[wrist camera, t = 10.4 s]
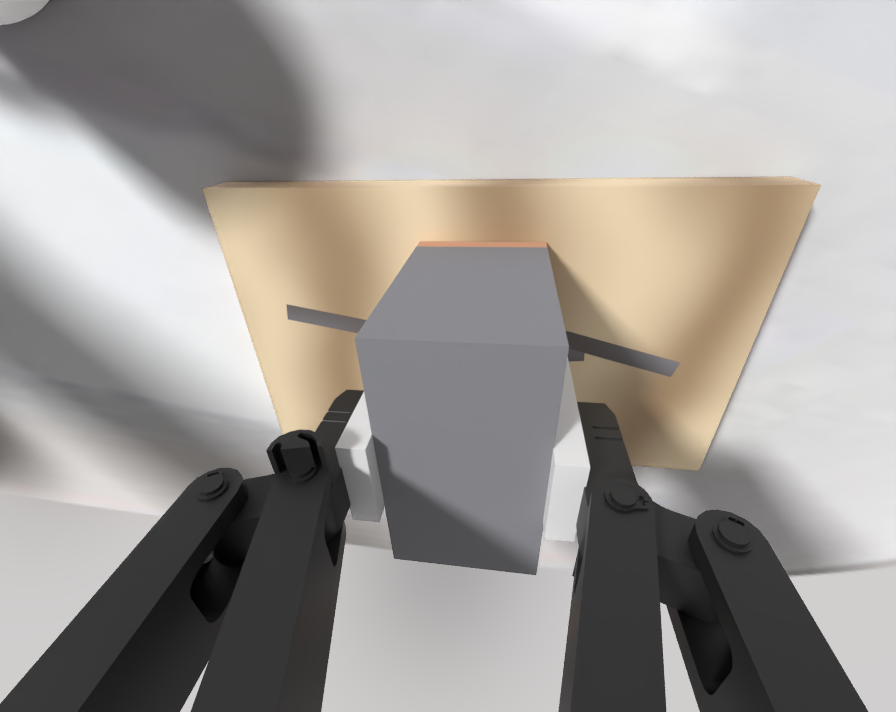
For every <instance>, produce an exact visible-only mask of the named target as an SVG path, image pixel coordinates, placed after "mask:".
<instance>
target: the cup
mask: <svg viewBox="0 0 896 712" xmlns="http://www.w3.org/2000/svg"><path fill="white" fill-rule="evenodd" d="M48 2H49V0H0V25H6V24H12V23H16V22H19V21H22V20H24V19H26V18H29V17H31V16H33V15H34V14H36V13H37V12H39V11H40V10H41V9H42V8H43V7H44V6H45V5H46V4H47V3H48Z"/></svg>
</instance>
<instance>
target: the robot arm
mask: <svg viewBox="0 0 896 712" xmlns="http://www.w3.org/2000/svg"><path fill="white" fill-rule="evenodd" d="M266 451H267V454H268V457H269V459H270V462H271V464H272V467H273V470H274V472H275V474H272V475H268V476H262V477H257V478H251V479H246V480H243V477H242V475H241V474H240V473H239V472H238V471H237V470H235V469H232V468H219V469H216V470H212V471H209V472H207V473H205V474H203V475H202V476H200V477H198V478H197V479H196V480H195V481H193V482H192V483H191V484H190V485H189V486H188V487H187V488H186V489H185V491H184V492H183V493H182V494H181V495H180V496H179V498H178V499H177V500H176V501H175V502H174V503H173V504H172V506H171V507H170V508H169V509H168V510H167V511H166V513H165V514H164V515H163V516H162V517H161V518H160V520H159V521H158V522H157V523H156V524H155V525H154V526H153V528H152V529H151V530H150V531H149V532H148V533H147V535H146V536H145V537H144V538H143V539H142V540H141V542H140V543H139V544H138V545H137V546H136V547H135V548H134V550H133V551H132V552H131V553H130V554H129V556H128V557H127V558H126V559H125V560H124V561H123V562H122V564H121V565H120V566H119V567H118V568H117V569H116V571H115V572H114V573H113V574H112V575H111V576H110V577H109V579H108V580H107V581H106V582H105V583H104V584H103V585H102V587H101V588H100V589H99V590H98V591H97V592H96V594H95V595H94V596H93V597H92V598H91V599H90V601H89V602H88V603H87V604H86V605H85V606H84V608H83V609H82V610H81V611H80V612H79V613H78V615H77V616H76V617H75V618H74V619H73V620H72V621H71V623H70V624H69V625H68V626H67V627H66V628H65V629H64V631H63V632H62V633H61V634H60V635H59V636H58V638H57V639H56V640H55V641H54V642H53V643H52V645H51V646H50V647H49V648H48V649H47V650H46V651H45V653H44V654H43V655H42V656H41V657H40V658H39V660H38V661H37V662H36V663H35V664H34V665H33V667H32V668H31V669H30V670H29V671H28V672H27V673H26V675H25V676H24V677H23V678H22V679H21V680H20V682H19V683H18V684H17V685H16V686H15V688H14V689H13V690H12V691H11V692H10V693H9V694H8V695H7V697H6V698H5V699H4V700H3V701H2V702H1V704H0V712H180V710H181V709H182V707H183V705H184V704H185V702H186V700H187V698H188V696H189V695H190V693H191V691H192V689H193V687H194V686H195V684H196V682H197V680H198V678H199V677H200V675H201V673H202V671H203V670H204V668H205V666H206V664H207V662H208V661H209V662H208V665H207V667H206V670H205V673H204V676H203V679H202V681H201V684H200V687H199V690H198V693H197V696H196V698H195V701H194V704H193V707H192V710H191V712H321V708H322V701H323V693H324V687H325V679H326V672H327V664H328V658H329V651H330V644H331V637H332V630H333V623H334V616H335V609H336V602H337V595H338V588H339V581H340V574H341V567H342V559H343V552H344V545H345V538H346V527H345V523H344V520H345V517H346V515H347V512H348V510H349V507H350V510H351V514H352V518H353V519H355V520H364V521H374V522H380V519H381V515H382V512H383V509H384V506H385V505H384V499H383V493H382V488H381V482H380V477H379V471H378V466H377V460H376V454H375V449H374V443H373V438H372V433H371V427H370V422H369V416H368V410H367V405H366V399H365V394H364V390H345V391H344V392H343V393H342V394H340V395H339V396H338V397H337V398H335V399H334V401H333V403H332V404H331V406H330V408H329V409H328V412H327V413H326V414H325V416H324V418H323V421H322V422H321V423H320V424H319V426H318V428H317V429H316V431H315V432H314V431H311V430H301V429H300V430H295V431H290V432H288V433H286V434H284V435H281V436H279V437H278V438H277V439H276V440H274V441H273V442H272V443H271V444H270V446H269V447H268V449H267V450H266ZM543 530H544V539H549V540H559V541H569V542H574V541H575V536H576V532H577V536H578V543H579V549H578V554H577V558H576V562H575V567H574V571H573V576H574V583H573V592H572V600H571V609H570V618H569V626H568V635H567V643H566V652H565V661H564V669H563V678H562V687H561V695H560V704H559V712H666V698H665V681H664V664H663V648H662V630H661V614H660V602H661V603H663V604H666V606H667V609H668V612H669V615H670V618H671V621H672V625H673V628H674V631H675V634H676V638H677V641H678V644H679V647H680V650H681V653H682V657H683V660H684V662H685V666H686V669H687V672H688V676H689V679H690V682H691V685H692V688H693V691H694V695H695V698H696V701H697V704H698V707H699V710H700V712H868V711H867V709H866V707H865V705H864V704H863V702H862V700H861V699H860V697H859V695H858V693H857V692H856V690H855V688H854V687H853V685H852V684H851V682H850V680H849V678H848V677H847V675H846V673H845V672H844V670H843V668H842V666H841V665H840V663H839V661H838V660H837V658H836V656H835V655H834V653H833V651H832V650H831V648H830V646H829V645H828V643H827V641H826V639H825V638H824V636H823V634H822V633H821V631H820V629H819V627H818V626H817V624H816V622H815V621H814V619H813V617H812V616H811V614H810V612H809V611H808V609H807V607H806V605H805V604H804V602H803V600H802V599H801V597H800V595H799V594H798V592H797V590H796V589H795V587H794V585H793V583H792V582H791V580H790V578H789V577H788V575H787V573H786V572H785V570H784V568H783V567H782V565H781V563H780V561H779V560H778V558H777V556H776V555H775V553H774V551H773V550H772V548H771V546H770V544H769V543H768V541H767V540H766V538H765V537H764V536H763V535H762V533H761V532H760V531H759V530H758V529H757V528H756V527H755V526H753V525H752V524H751V523H749V522H748V521H747V520H745V519H743V518H741V517H739V516H737V515H735V514H733V513H730V512H725V511H721V510H710V511H705V512H703V513H702V514H700V515H699V516H698V517H697V519H694V518H691V517H688V516H685V515H682V514H679V513H676V512H673V511H671V510H668V509H666V508H664V507H661V506H660V505H658V504H656V503H655V502H653V501H652V499H651V497H650V496H649V495H648V493H647V492H646V491H645V490H644V489H643V488H642V487H640V486H639V485H638V483H637V481H636V478H635V475H634V472H633V469H632V466H631V462H630V459H629V456H628V453H627V450H626V447H625V444H624V441H623V437H622V434H621V431H620V430H619V425H618V422H617V418H616V415H615V414H614V413H613V412H612V411H611V410H610V409H609V408H608V406H607V405H606V404H605V403H591V402H577V400H576V395H575V390H574V385H573V380H572V376H571V371H570V366H569V361H568V357H567V364H566V371H565V378H564V385H563V392H562V399H561V406H560V413H559V420H558V427H557V434H556V440H555V447H554V448H553V454H552V461H551V468H550V475H549V482H548V489H547V496H546V503H545V510H544V517H543Z"/></svg>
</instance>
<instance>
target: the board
mask: <svg viewBox="0 0 896 712" xmlns="http://www.w3.org/2000/svg"><path fill="white" fill-rule="evenodd" d="M820 186H821V185H820V184H816V183H813V182H809V181H805V180H802V179H798V178H795V177H712V178H601V179H490V180H379V181H268V182H225V183H221V184H217V185H214V186H210V187H207V188H203V189H202V191H203V194H204V197H205V200H206V203H207V206H208V209H209V212H210V215H211V218H212V221H213V224H214V227H215V230H216V233H217V236H218V239H219V242H220V245H221V248H222V251H223V254H224V258H225V261H226V264H227V267H228V270H229V273H230V276H231V279H232V282H233V285H234V288H235V291H236V294H237V297H238V300H239V303H240V306H241V309H242V312H243V315H244V318H245V321H246V324H247V327H248V330H249V333H250V337H251V340H252V343H253V346H254V349H255V352H256V355H257V358H258V361H259V364H260V367H261V370H262V373H263V376H264V379H265V382H266V385H267V388H268V391H269V394H270V397H271V400H272V403H273V406H274V409H275V412H276V415H277V419H278V422H279V425H280V428H281V431H282V434H283V435H284V434H286V433H288V432H290V431H295V430H300V429H301V430H311V431H314V432H315V431H316V429H317V428H318V426H319V424H320V423H321V422H322V421H323V418H324V416H325V414H326V413H327V412H328V409H329V408H330V406H331V404H332V403H333V401H334V399H335V398H337V397H338V396H339V395H340V394H342V393H343V392H344V391H345V390H364V388H363V383H362V377H361V372H360V366H359V360H358V355H357V349H356V344H355V336H356V335H357V334H358V332H359V331H360V329H361V328H362V326H363V325H364V323H365V322H366V320H367V319H368V317H369V316H370V314H371V313H372V311H373V310H374V308H375V307H376V305H377V304H378V302H379V301H380V299H381V298H382V297H383V295H384V294H385V292H386V291H387V289H388V288H389V286H390V285H391V283H392V282H393V280H394V279H395V277H396V276H397V274H398V273H399V271H400V270H401V268H402V267H403V265H404V264H405V262H406V261H407V260H408V258H409V257H410V255H411V254H412V252H413V251H414V249H415V248H416V246H417V245H418V243H419V242H420V241H451V242H546V243H547V248H548V253H549V257H550V262H551V266H552V271H553V275H554V280H555V285H556V289H557V294H558V298H559V303H560V308H561V312H562V317H563V321H564V326H565V331H566V335H567V340H568V344H569V350H568V361H569V366H570V371H571V376H572V380H573V385H574V390H575V395H576V400H577V402H591V403H605V404H606V405H607V406H608V408H609V409H610V410H611V411H612V412H613V413H614V414H615V415H616V418H617V422H618V425H619V430H620V431H621V434H622V437H623V441H624V444H625V447H626V450H627V453H628V456H629V459H630V462H631V465H635V466H647V467H659V468H671V469H683V470H695V471H699V470H700V467H701V465H702V463H703V460H704V458H705V455H706V453H707V451H708V448H709V446H710V444H711V441H712V439H713V437H714V434H715V432H716V430H717V427H718V425H719V423H720V420H721V418H722V416H723V413H724V411H725V409H726V406H727V404H728V402H729V399H730V397H731V395H732V392H733V390H734V388H735V385H736V383H737V381H738V378H739V376H740V374H741V371H742V369H743V366H744V364H745V362H746V359H747V357H748V355H749V352H750V350H751V348H752V345H753V343H754V341H755V338H756V336H757V334H758V331H759V329H760V327H761V324H762V322H763V320H764V317H765V315H766V313H767V310H768V308H769V306H770V303H771V301H772V299H773V296H774V294H775V292H776V289H777V287H778V285H779V282H780V280H781V277H782V275H783V273H784V270H785V268H786V266H787V263H788V261H789V259H790V256H791V254H792V252H793V249H794V247H795V245H796V242H797V240H798V238H799V235H800V233H801V231H802V228H803V226H804V224H805V221H806V219H807V217H808V214H809V212H810V210H811V207H812V205H813V203H814V200H815V198H816V196H817V193H818V191H819V189H820Z"/></svg>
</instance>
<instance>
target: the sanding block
mask: <svg viewBox="0 0 896 712" xmlns="http://www.w3.org/2000/svg"><path fill="white" fill-rule="evenodd" d="M355 344H356V349H357V355H358V360H359V366H360V372H361V377H362V383H363V388H364V394H365V399H366V405H367V410H368V416H369V422H370V427H371V433H372V438H373V443H374V449H375V454H376V460H377V466H378V471H379V477H380V482H381V488H382V493H383V499H384V505H385V510H386V516H387V521H388V527H389V533H390V538H391V544H392V549H393V555H394V558H395V559H402V560H412V561H419V562H428V563H437V564H445V565H454V566H463V567H471V568H480V569H489V570H497V571H506V572H514V573H523V574H532V575H536V572H537V566H538V559H539V552H540V545H541V538H542V531H543V517H544V510H545V503H546V496H547V489H548V482H549V475H550V468H551V461H552V454H553V448H554V447H555V440H556V434H557V427H558V420H559V413H560V406H561V399H562V392H563V385H564V378H565V371H566V364H567V357H568V350H569V344H568V340H567V335H566V331H565V326H564V321H563V317H562V312H561V308H560V303H559V298H558V294H557V289H556V285H555V280H554V275H553V271H552V266H551V262H550V257H549V253H548V248H547V243H546V242H451V241H420V242H419V243H418V245H417V246H416V248H415V249H414V251H413V252H412V254H411V255H410V257H409V258H408V260H407V261H406V262H405V264H404V265H403V267H402V268H401V270H400V271H399V273H398V274H397V276H396V277H395V279H394V280H393V282H392V283H391V285H390V286H389V288H388V289H387V291H386V292H385V294H384V295H383V297H382V298H381V299H380V301H379V302H378V304H377V305H376V307H375V308H374V310H373V311H372V313H371V314H370V316H369V317H368V319H367V320H366V322H365V323H364V325H363V326H362V328H361V329H360V331H359V332H358V334H357V335H356V336H355Z"/></svg>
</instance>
